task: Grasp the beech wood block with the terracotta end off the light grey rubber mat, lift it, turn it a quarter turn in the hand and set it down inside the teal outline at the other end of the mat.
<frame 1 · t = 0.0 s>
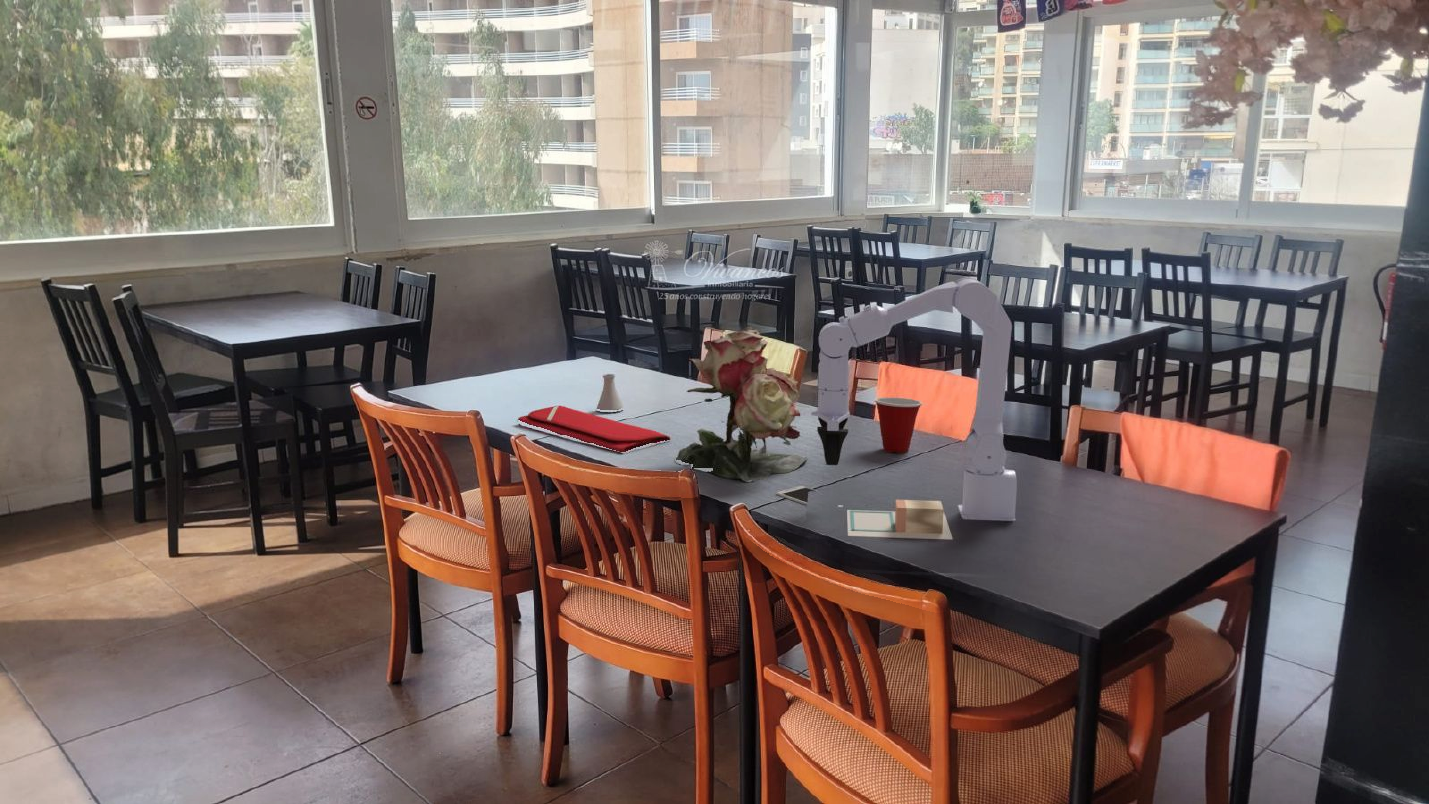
hand: (832, 459, 188), 10 cm above the table, tool pointing down, fingers open, 7 cm apart
rose bouquet: (749, 463, 222), on the table
flask: (610, 411, 273), on the table
smartphone: (815, 503, 197), on the table
dish drying mat: (590, 436, 249), on the table
mat: (897, 526, 181), on the table
plastic cup: (896, 450, 232), on the table
block: (918, 528, 179), resting on mat
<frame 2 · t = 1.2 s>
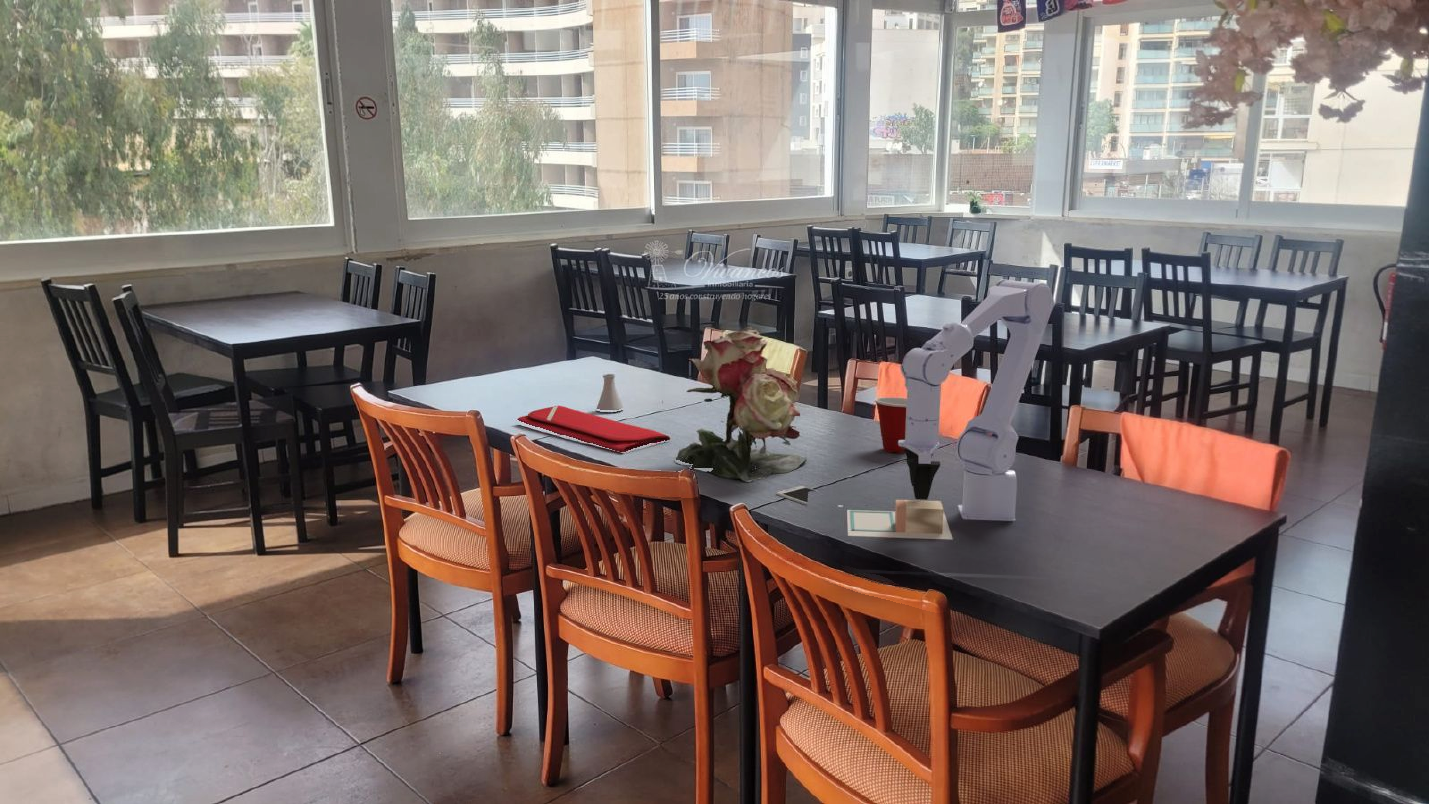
hand: (919, 492, 177), 7 cm above the table, tool pointing down, fingers open, 7 cm apart
nothing on the table moved.
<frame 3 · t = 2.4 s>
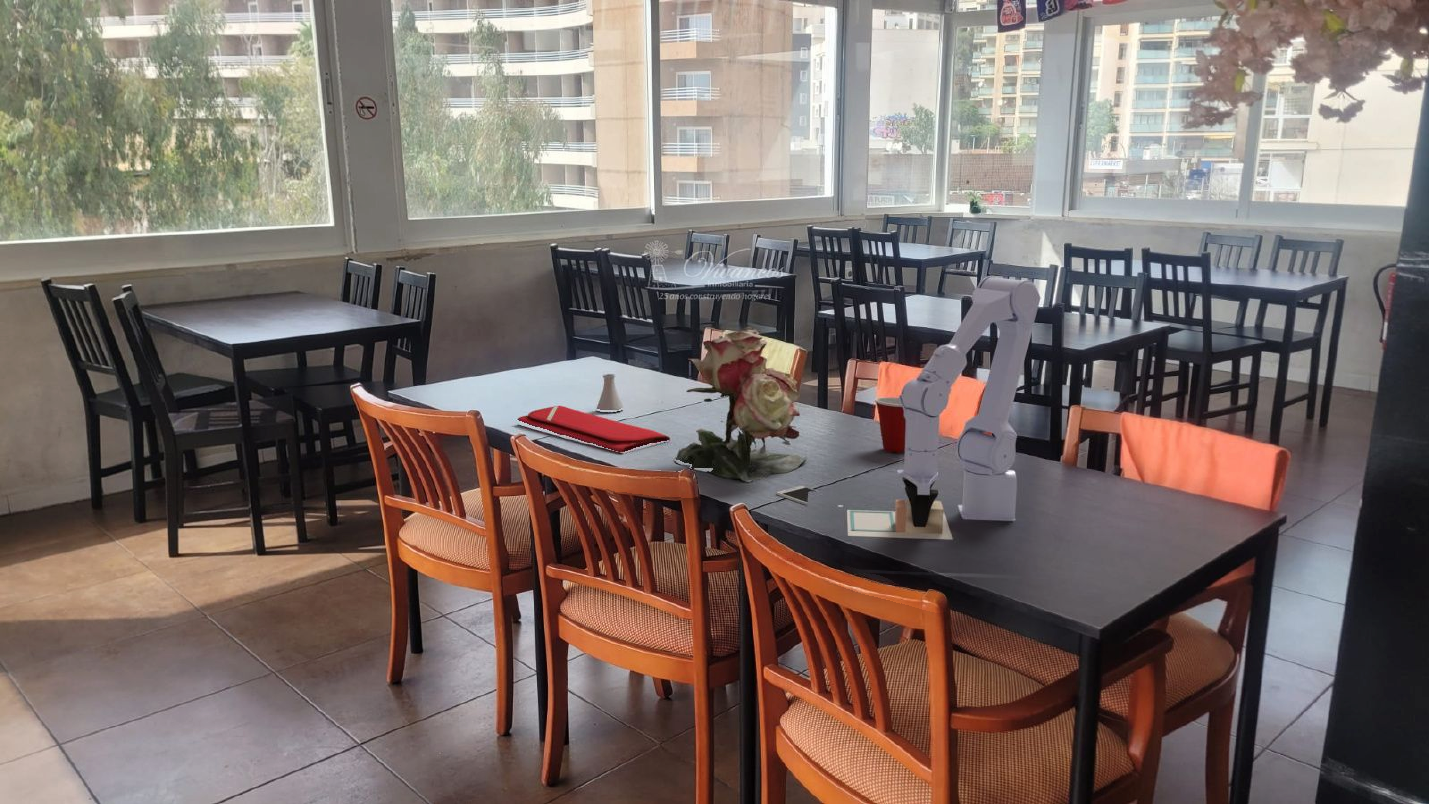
hand: (918, 521, 178), 2 cm above the table, tool pointing down, fingers closed on block, 5 cm apart
block: (918, 528, 179), resting on mat, touching gripper
everything else where it was.
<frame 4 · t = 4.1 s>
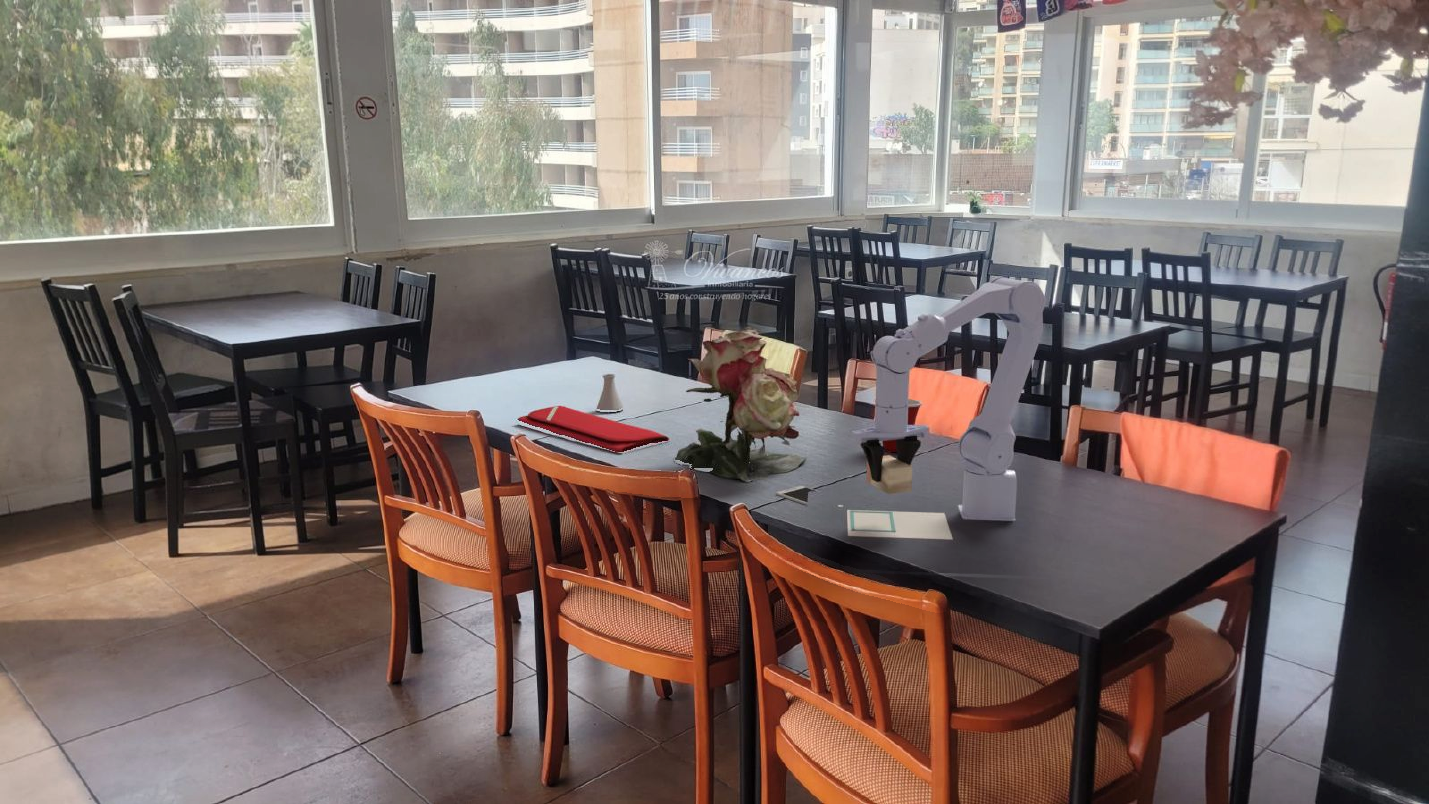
hand: (888, 478, 179), 9 cm above the table, tool pointing down, fingers closed on block, 5 cm apart
block: (888, 486, 180), point 8 cm above the table, touching gripper
everything else where it was.
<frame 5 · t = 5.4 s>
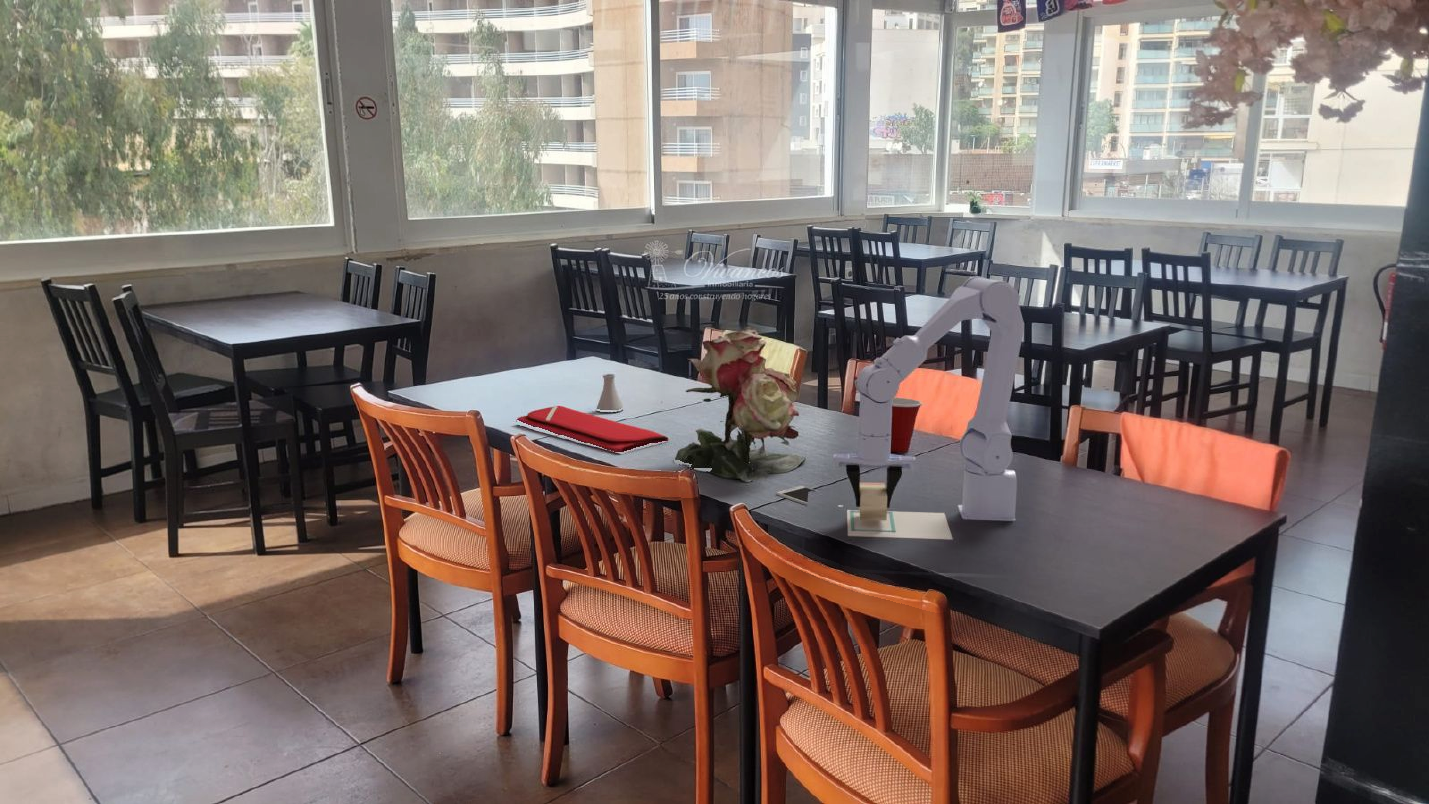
hand: (872, 505, 182), 4 cm above the table, tool pointing down, fingers closed on block, 5 cm apart
block: (872, 512, 182), point 2 cm above the table, touching gripper
everything else where it was.
when the fingers open (3 cm above the table, at t = 6.0 s): block stays where it is, resting on mat.
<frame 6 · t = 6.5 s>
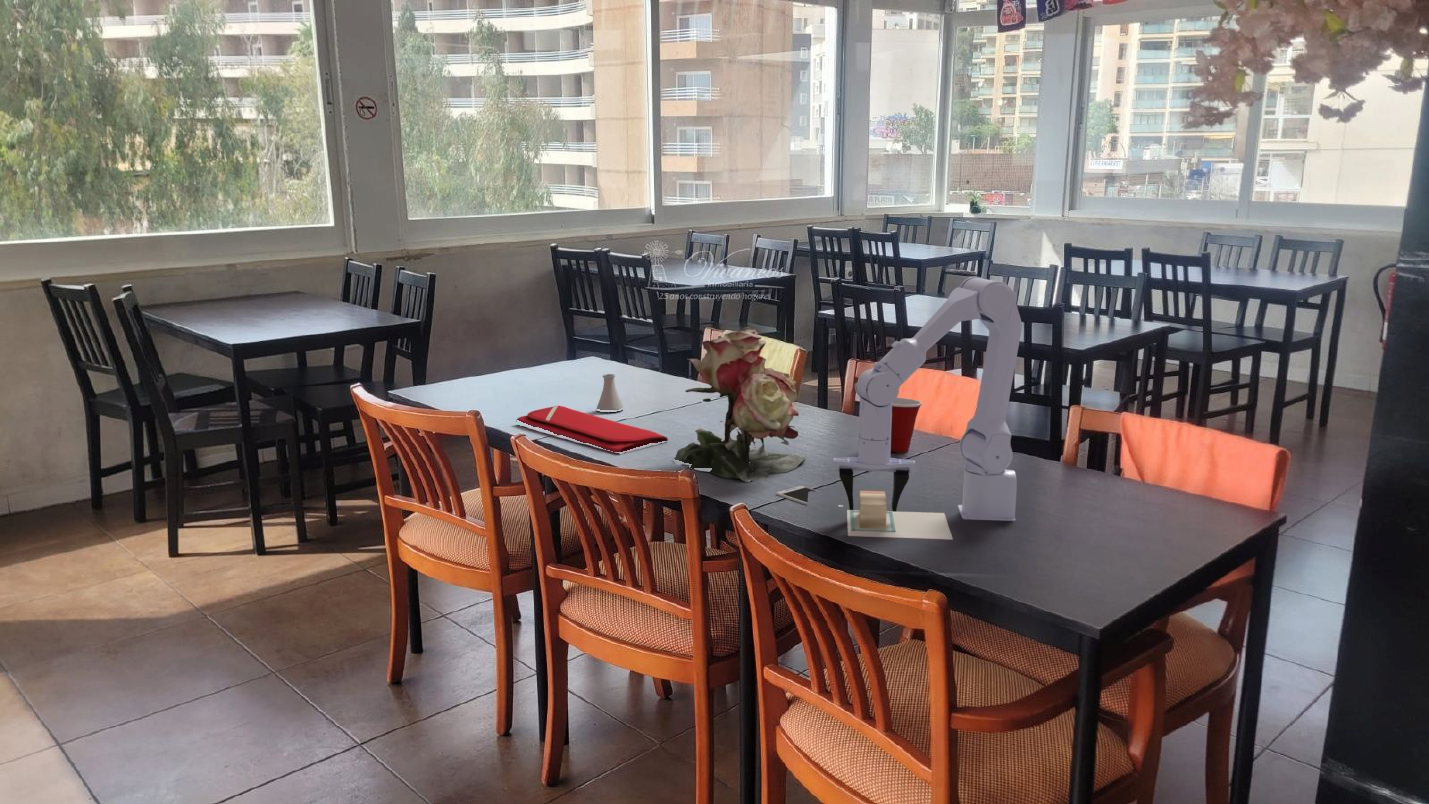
hand: (872, 509, 182), 3 cm above the table, tool pointing down, fingers open, 7 cm apart
block: (872, 521, 182), resting on mat
everything else where it was.
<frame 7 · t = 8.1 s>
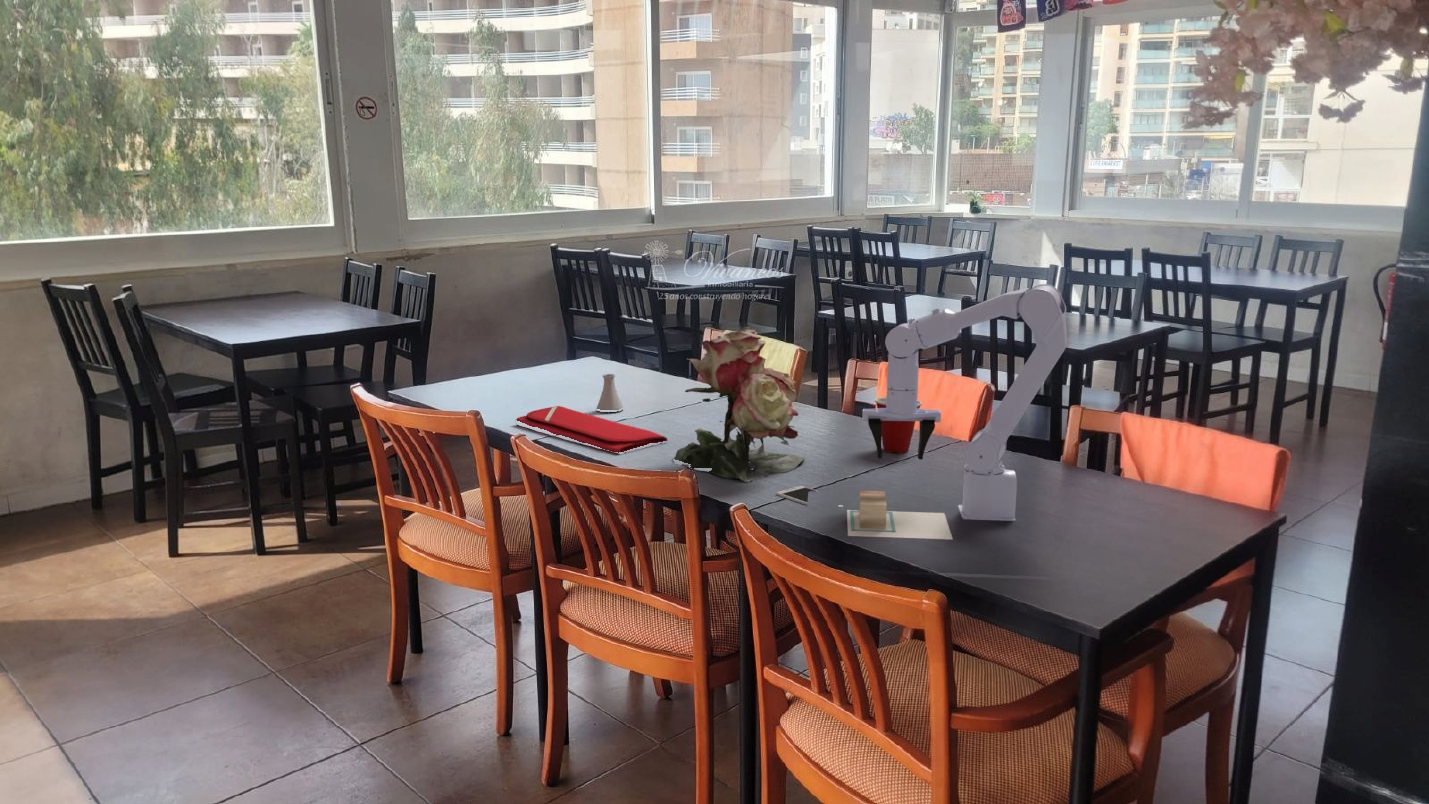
hand: (899, 457, 191), 9 cm above the table, tool pointing down, fingers open, 7 cm apart
nothing on the table moved.
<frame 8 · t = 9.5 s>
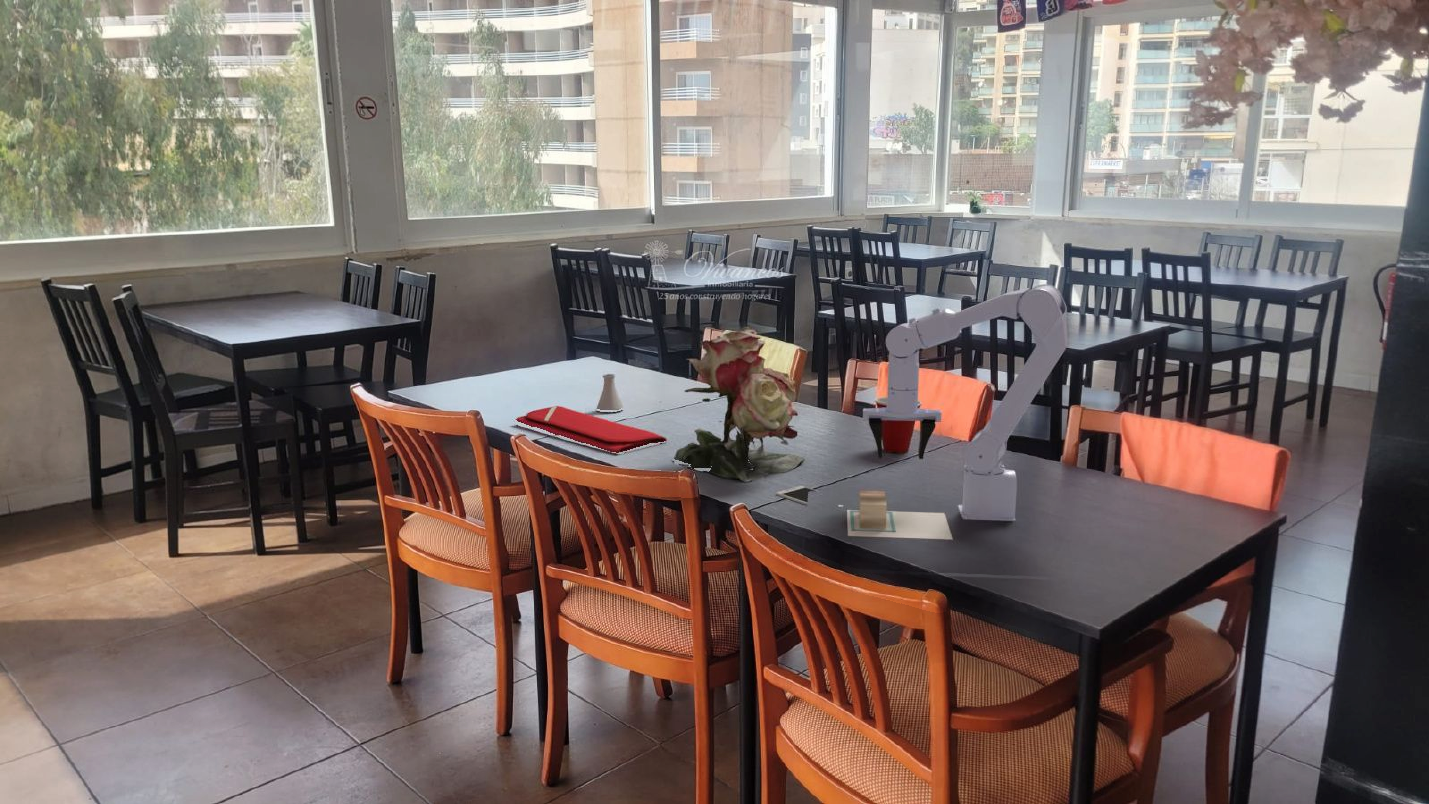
hand: (900, 457, 192), 9 cm above the table, tool pointing down, fingers open, 7 cm apart
at the end: block 0.0 cm from the target spot, point 0.5 cm above the table; block tilted 0°; the gripper is holding nothing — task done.
